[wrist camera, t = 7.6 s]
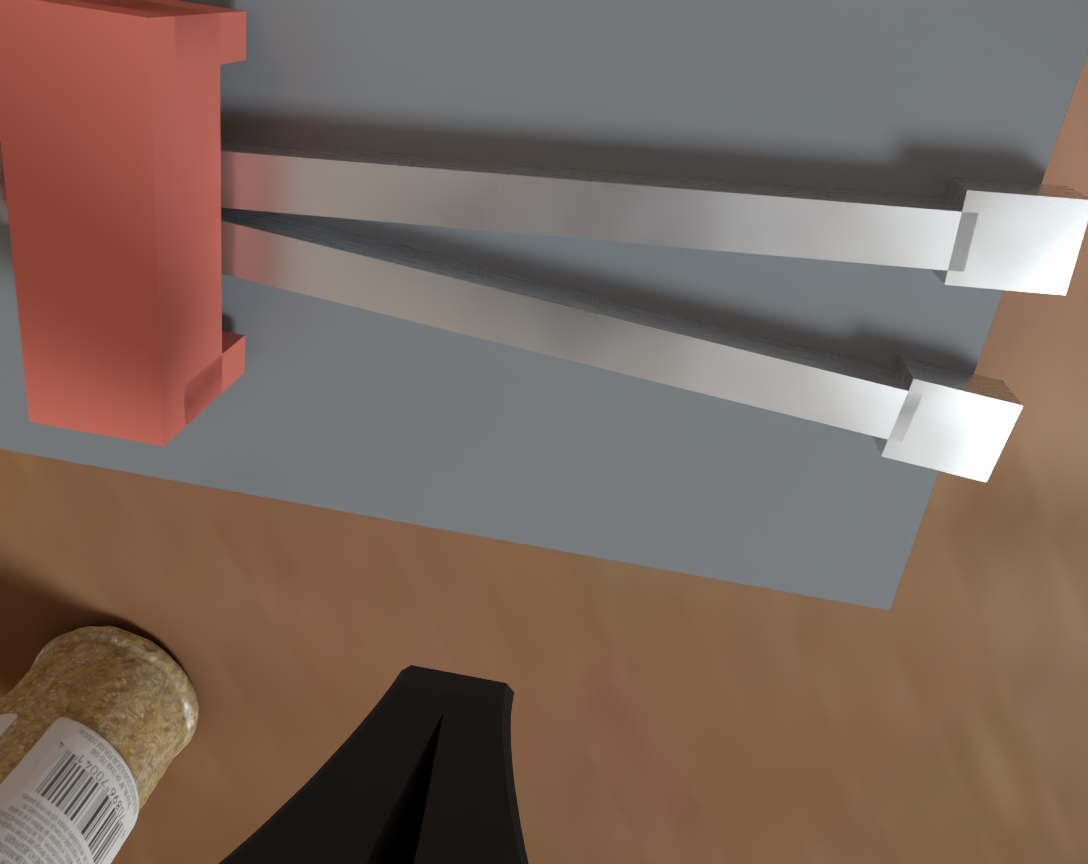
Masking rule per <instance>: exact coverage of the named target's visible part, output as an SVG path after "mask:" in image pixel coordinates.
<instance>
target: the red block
mask: <svg viewBox="0 0 1088 864" xmlns="http://www.w3.org/2000/svg"><path fill="white" fill-rule="evenodd" d="M243 60H246V11H242V10H235V9H229V8H223V7H216V6H210V5H204V4H197V3H191V2H185V1H178V0H0V141H1V150H2V160H3V170H4V180H5V189H6V199H7V209H8V219H9V228H10V238H11V248H12V258H13V268H14V277H15V287H16V297H17V307H18V316H19V326H20V336H21V346H22V356H23V365H24V375H25V385H26V395H27V404H28V414H29V422H33V423H38V424H44V425H49V426H55V427H60V428H66V429H71V430H77V431H83V432H88V433H94V434H99V435H105V436H110V437H116V438H121V439H127V440H132V441H138V442H144V443H149V444H155V445H160V446H165V445H166V444H167V443H168V442H169V441H170V440H171V439H172V438H173V437H175V436H176V435H177V434H178V433H179V432H180V431H181V430H182V429H183V428H184V427H185V426H187V425H188V424H189V423H190V422H191V421H192V420H193V419H194V418H195V417H196V416H197V415H199V414H200V413H201V412H202V411H203V410H204V409H205V408H206V407H207V406H208V405H209V404H211V403H212V402H213V401H214V400H215V399H216V398H217V397H218V396H219V395H220V394H221V393H223V392H224V391H225V390H226V389H227V388H228V387H229V386H230V385H231V384H232V383H233V382H235V381H236V380H237V379H238V378H239V377H240V376H241V375H242V374H243V373H244V372H245V335H240V334H235V333H229V332H223V331H222V274H221V131H220V65H222V64H227V63H233V62H238V61H243Z"/></svg>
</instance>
